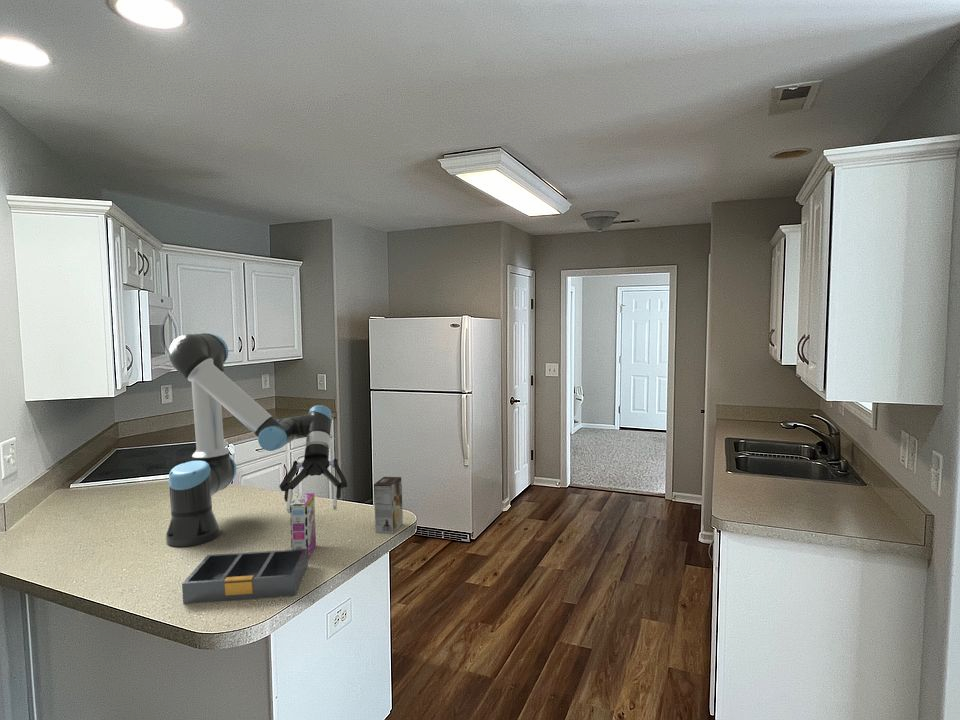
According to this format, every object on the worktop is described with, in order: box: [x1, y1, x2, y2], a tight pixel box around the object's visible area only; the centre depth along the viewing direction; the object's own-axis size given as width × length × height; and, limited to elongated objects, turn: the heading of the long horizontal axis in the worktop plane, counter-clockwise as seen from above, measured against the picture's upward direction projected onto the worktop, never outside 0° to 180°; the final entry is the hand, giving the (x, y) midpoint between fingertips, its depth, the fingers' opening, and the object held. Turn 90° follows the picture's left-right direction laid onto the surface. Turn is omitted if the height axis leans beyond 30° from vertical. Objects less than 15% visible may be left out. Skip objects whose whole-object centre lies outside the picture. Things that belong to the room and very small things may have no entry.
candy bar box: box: [289, 493, 317, 560], centre depth 166 cm, size 11×5×16 cm, turn 5°
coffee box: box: [373, 476, 404, 534], centre depth 184 cm, size 9×6×16 cm
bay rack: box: [181, 549, 309, 605], centre depth 147 cm, size 26×17×5 cm, turn 96°
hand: (311, 509), depth 170 cm, fingers open, 13 cm apart
